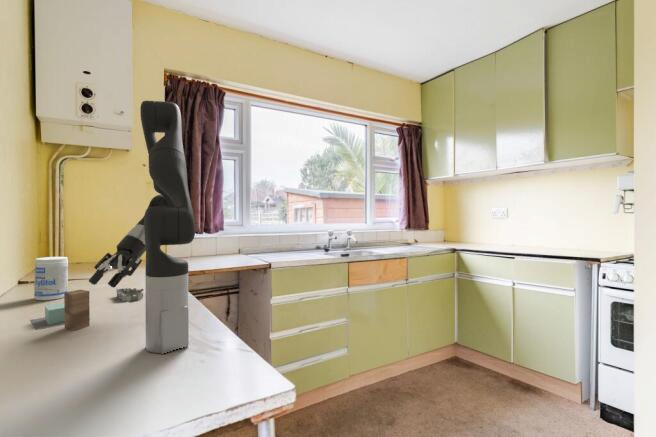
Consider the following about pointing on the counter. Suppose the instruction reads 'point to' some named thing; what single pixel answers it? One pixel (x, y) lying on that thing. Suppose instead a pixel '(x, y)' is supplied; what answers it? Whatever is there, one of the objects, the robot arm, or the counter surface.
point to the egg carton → (129, 294)
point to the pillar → (76, 309)
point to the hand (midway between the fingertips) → (101, 284)
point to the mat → (44, 324)
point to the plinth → (54, 313)
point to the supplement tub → (50, 278)
